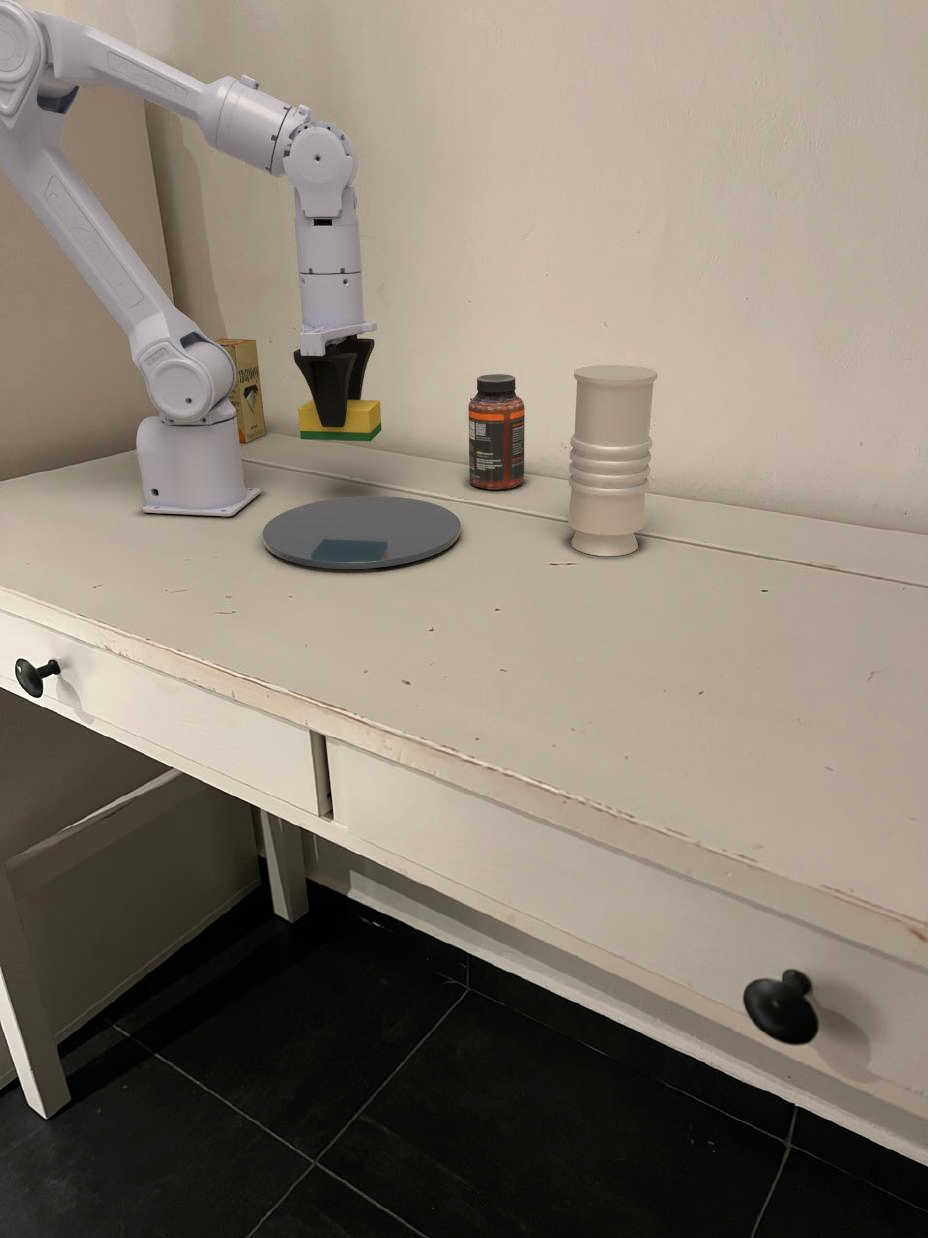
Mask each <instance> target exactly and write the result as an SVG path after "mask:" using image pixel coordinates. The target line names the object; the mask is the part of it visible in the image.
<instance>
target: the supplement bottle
mask: <svg viewBox="0 0 928 1238" xmlns="http://www.w3.org/2000/svg"><path fill="white" fill-rule="evenodd" d="M516 388H517V386H516V377H515V376H513V375H511V374H503V373H494V374H493V373H492V374H484V375H480V376H478V377H476V390H477V393H476V394H475V396H474V397H473V398H471V399H470V401H469V403H468V407H467V408H468V409H467V410H468V412H467V413H468V470H469V471H468V474H469V482H470V483H471V484H472V485H473V486H474V487H476V488H480V489H485V490H491V491H493V490H495V491H499V490H500V491H501V490H508V489H513V488H516V487H518V486H520V485H522V484H523V482H524V479H525V427H526V426H525V420H526V419H525V418H526V417H525V412H526V410H525V409H526V408H525V403H524V400H523V399H522V398H521V397H520V396H517V393H516Z"/></svg>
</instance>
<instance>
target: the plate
mask: <svg viewBox="0 0 928 1238" xmlns="http://www.w3.org/2000/svg"><path fill="white" fill-rule="evenodd" d="M461 528H462V527H461V521H460V519H459V517H458V516H457V515H456V514H455V513H454V512H453V511H451V510H450V509H448V508H446V507H444V506H442V505H439V504H436V503H433V502H429V501H425V500H420V499H417V498H416V499H415V498H409V497H401V496H389V495H359V496H348V497H347V496H346V497H345V496H344V497H337V498H330V499H323V500H319V501H315V502H314V501H313V502H311V503H306V504H302V505H299V506H296V507H293V508H291V509H288V510H286V511H284V512H281V513H279V514H278V515H276V516H274V517H273V518H272V519H271V520H269V521H268V522H267V523H266V524H265V525H264V527H263V530H262V533H261V534H262V535H261V536H262V537H261V538H262V542H263V545H264V546H265V548H266V550H268V551H269V552H270V553H271V554H273V555H274V556H275V557H278V558H280V559H283V560H285V561H288V562H290V563H295V564H298V565H303V566H308V567H314V568H320V569H321V568H323V569H333V570H334V569H335V570H363V569H365V570H366V569H377V568H385V567H386V568H387V567H393V566H399V565H404V564H408V563H412V562H413V563H414V562H416V561H420V560H423V559H426V558H430V557H432V556H434V555H437V554H439V553H441V552H443V551H445V550H447V549H448V548H450V547H451V546H452V545H453V544H454V543H456V542H457V540H458V539H459V538H460V535H461V531H462V529H461Z"/></svg>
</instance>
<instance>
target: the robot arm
mask: <svg viewBox="0 0 928 1238" xmlns="http://www.w3.org/2000/svg"><path fill="white" fill-rule="evenodd" d="M109 86H113V87H115V88H117V89H120V90H122V91H125V92H127V93H129V94H131V95H134V96H135V97H138V98H140V99H143V100H146V101H148V102H150V103H152V104H154V105H156V106H159V107H162V108H164V109H166V110H168V111H171V112H172V113H175V114H177V115H179V116H182V117H184V118H186V119H189V120H191V121H193V122H195V123H197V125H198V127H199V128H200V129H199V130H200V131H201V133H202V135H203V137H204V139H205V142H206V144H207V145H208V146H209V147H210V148H212V149H214V150H217V151H218V152H221V153H223V154H225V155H228V156H230V157H232V158H234V159H236V160H239V161H240V162H243V163H245V164H247V165H249V166H251V167H253V168H256V169H257V170H260V171H262V172H264V173H267V174H269V175H271V176H272V177H274V178H278V179H279V178H282V177H284V176H287V178H288V180H289V182H290V183H291V185H293V196H294V197H293V198H294V209H295V217H294V230H295V243H296V256H297V268H298V281H299V292H300V293H299V294H300V304H301V315H302V316H301V318H302V322H301V323H300V332H299V333H298V335H299V336H298V339H299V349H296V350H294V351H293V361H294V363H295V364H296V366H297V368H298V369H299V371H300V372H301V374H302V376H303V378H304V380H305V381H306V384H307V386H308V388H309V390H310V393H311V397H312V399H313V400H314V403H315V406H316V410H317V413H318V416H319V419H320V422H321V425H322V427H343V426H344V424H345V420H346V413H347V400H362V393H363V385H364V380H365V374H366V370H367V366H368V363H369V360H370V357H371V355H372V353H373V351H374V348H375V339H374V338H362V337H360V338H359V337H358V335H363V334H365V333H371V332H375V331H377V330H378V323H377V321H367V320H366V319H365V312H364V292H363V275H362V274H363V273H362V272H363V271H362V269H363V268H362V252H361V236H360V235H361V234H360V233H361V231H360V219H359V216H358V215H357V207H358V198H357V194H356V190H355V189H356V188H355V187H354V186H352V184H353V183H354V182H355V179H356V177H357V173H358V168H359V156H358V152H357V149H356V147H355V144H354V143H353V141H352V140H351V137H349V136H348V134H346V132H344V131H343V130H341V129H340V128H338V127H337V126H336V125H335V124H333V123H331V122H326V121H322V120H313V121H312V114H313V109H312V108H310V107H308V106H306V105H304V104H302V103H300V104H299V106H298V108H297V107H295V106H293V105H291V104H289V103H287V102H285V101H282V100H280V99H279V98H276V97H274V96H272V95H270V94H268V93H266V92H264V91H262V90H260V89H259V87H260V82H259V81H258V80H256V79H255V78H252V77H250V76H248V75H246V74H242V75H241V77H240V80H238V79H237V78H235V77H233V76H231V75H226V76H223V77H221V78H219V79H218V80H215V81H213V82H210V83H206V82H205V83H204V82H202V81H201V80H199V79H197V78H195V77H193V76H191V75H189V74H187V73H185V72H183V71H181V70H180V69H177V68H175V67H174V66H171V65H169V64H167V63H166V62H163V61H161V60H159V59H157V58H155V57H153V56H152V55H149V54H147V53H146V52H143V51H142V50H140V49H138V48H136V47H134V46H132V45H130V44H128V43H126V42H124V41H122V40H120V39H118V38H116V37H114V36H112V35H110V34H108V33H106V32H103V31H102V30H100V29H97V28H95V27H93V26H90V25H87V24H84V23H81V22H78V21H75V20H72V19H70V18H65V17H62V16H60V15H56V14H54V13H51V12H47V11H44V10H39V9H37V8H34V9H33V11H32V10H29V9H27V8H25V7H24V6H23V5H21V4H19V3H18V2H16V1H15V0H0V169H1V171H2V172H3V173H4V175H5V176H6V177H7V178H8V180H9V181H10V183H11V184H12V185H13V186H14V188H15V189H16V191H17V192H18V193H19V194H20V196H21V197H22V198H23V200H24V201H25V202H26V204H27V205H28V206H29V207H30V209H31V210H32V212H33V213H34V215H36V217H37V218H38V219H39V221H40V222H41V224H42V225H43V226H44V228H45V229H46V230H47V231H48V233H49V234H50V235H51V237H52V238H53V240H54V241H55V242H56V244H57V245H58V246H59V247H60V249H61V250H62V251H63V253H64V254H65V255H66V257H67V259H68V260H69V261H70V262H71V263H72V265H73V266H74V267H75V269H76V270H77V272H78V273H79V274H80V276H81V277H82V278H83V279H84V280H85V282H86V283H87V285H88V286H89V287H90V289H91V290H92V291H93V293H94V294H95V295H96V296H97V297H98V299H99V301H100V302H101V303H102V304H103V306H104V307H105V309H106V310H107V311H108V312H109V314H110V315H111V317H112V318H113V319H114V320H115V322H116V323H117V324H118V326H119V327H120V328H121V330H122V332H124V333H125V335H126V337H127V338H128V341H129V347H130V355H131V359H132V360H131V361H132V363H133V364H134V365H135V367H136V368H137V369H138V371H139V372H140V374H141V375H142V377H143V380H144V383H145V387H146V391H147V396H148V398H149V400H150V402H151V403H152V405H153V406H154V408H155V409H156V410H157V411H158V415H150V416H147V417H145V418H144V419H143V420H142V421H141V422H140V424H139V425H138V428H137V433H136V439H135V440H136V441H135V443H136V444H135V445H136V447H135V448H136V456H137V461H138V467H139V474H140V478H141V479H140V480H141V484H142V491H143V497H144V501H145V505H144V506H143V507H142V512H143V513H146V514H147V513H151V514H167V515H168V514H169V515H170V514H171V515H191V516H211V517H213V516H214V517H233V516H234V515H236V514H237V513H238V512H239V511H241V509H243V508H244V507H245V506H247V505H248V504H249V503H250V502H251V501H253V500H254V499H255V498H256V497H257V496H259V495H260V494H261V488H258V487H256V488H255V487H246V484H245V477H244V468H243V459H242V451H241V443H240V442H239V434H238V425H237V417H236V409H235V408H234V406H233V405H232V404H231V402H230V400H229V398H228V395H229V394H230V392H231V391H232V389H233V388H234V385H235V382H236V368H235V365H234V362H233V360H232V358H231V356H230V355H229V353H228V352H227V351H226V350H225V349H224V348H223V347H222V346H220V345H219V344H217V343H215V342H214V340H212V339H210V338H209V337H208V336H207V335H206V334H205V333H203V331H202V330H201V328H200V327H199V325H197V323H196V322H195V321H194V320H193V319H191V318H190V317H188V316H187V315H186V314H184V313H183V312H182V311H180V310H179V309H178V308H177V307H176V306H175V305H174V304H173V302H172V301H171V299H170V298H169V297H168V295H167V294H166V293H165V291H164V290H163V287H161V286H160V284H159V283H158V282H157V280H156V279H155V277H154V276H153V275H152V273H151V271H150V270H149V268H148V267H147V266H146V265H145V263H144V262H143V260H142V259H141V257H139V255H138V254H137V252H136V251H135V250H134V248H133V246H132V245H131V244H130V243H129V241H128V240H127V238H126V237H125V236H124V233H122V232H121V230H120V229H119V227H118V226H117V225H116V223H115V222H114V220H113V219H112V218H111V216H110V215H109V213H108V212H107V211H106V209H105V207H103V205H102V204H101V202H100V201H99V200H98V198H97V197H96V195H95V194H94V193H93V192H92V190H91V188H90V187H89V186H88V184H87V183H86V181H85V180H84V179H83V178H82V176H81V175H80V173H79V172H78V171H77V169H76V168H75V167H74V165H73V163H72V162H71V161H70V159H69V158H68V157H67V156H66V154H65V153H64V150H63V146H62V145H63V138H64V133H65V132H64V131H65V124H66V119H67V117H68V115H69V114H70V111H71V110H72V107H73V105H74V103H75V102H76V100H77V98H78V95H79V94H80V91H81V89H82V88H84V89H88V90H90V91H95V90H99V89H102V88H106V87H109Z"/></svg>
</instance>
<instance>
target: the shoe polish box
mask: <svg viewBox="0 0 928 1238" xmlns="http://www.w3.org/2000/svg"><path fill="white" fill-rule="evenodd" d="M213 341H214V342H215V343H217V344H219V345H220V346H222V347H223V348H224V349H225V350H226V351H227V352H228V353H229V355H230V356H231V358H232V360H233V362H234V365H235V368H236V382H235V385H234V388H233V389H232V391H231V392H230V394H229V395H228V398H229V400H230V402H231V404H232V405H233V406H234V408H235V409H236V417H237V425H238V434H239V442H240V444H248V443H250V442H252V441H255V440H256V439H259V438H261V437H263V436H265V435H266V434H267V431H266V423H265V414H264V405H263V403H264V402H263V395H262V385H261V376H260V367H259V358H258V357H259V356H258V347H257V340H256V339H244V338H243V339H241V338H218V339H215V340H213Z"/></svg>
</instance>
